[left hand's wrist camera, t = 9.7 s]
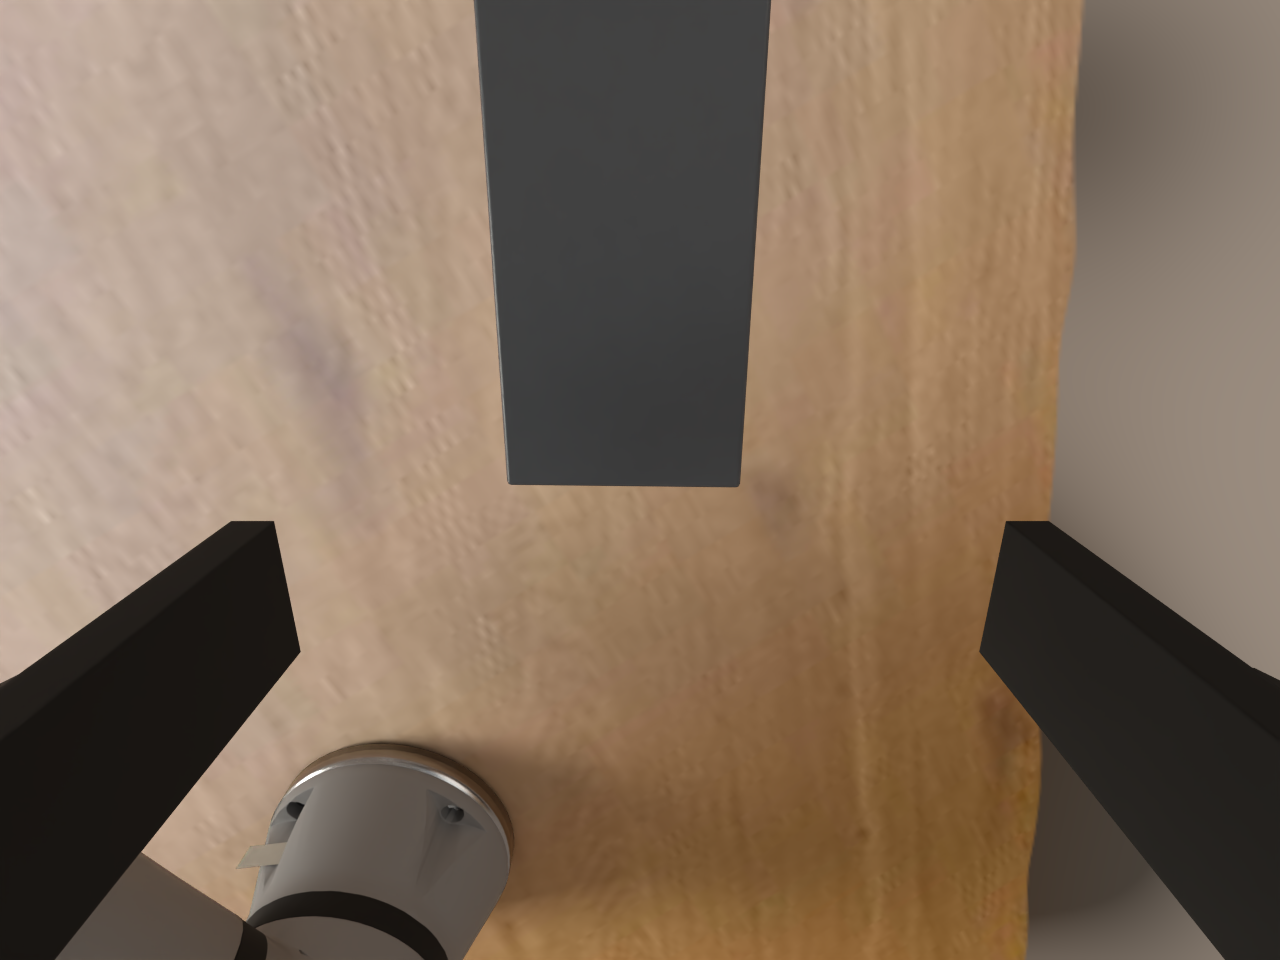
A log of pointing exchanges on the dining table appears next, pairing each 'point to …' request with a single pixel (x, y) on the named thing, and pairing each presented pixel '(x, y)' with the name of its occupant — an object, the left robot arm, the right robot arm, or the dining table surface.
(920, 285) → the dining table surface
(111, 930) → the left robot arm
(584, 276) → the bar
